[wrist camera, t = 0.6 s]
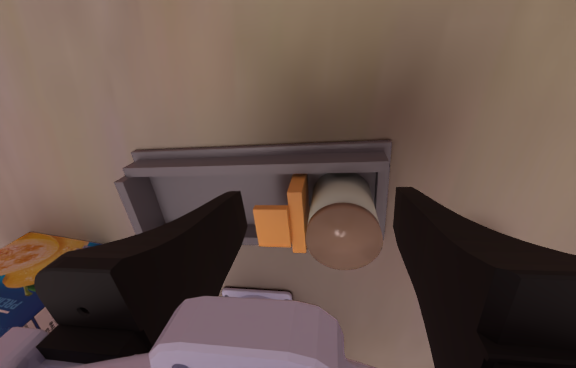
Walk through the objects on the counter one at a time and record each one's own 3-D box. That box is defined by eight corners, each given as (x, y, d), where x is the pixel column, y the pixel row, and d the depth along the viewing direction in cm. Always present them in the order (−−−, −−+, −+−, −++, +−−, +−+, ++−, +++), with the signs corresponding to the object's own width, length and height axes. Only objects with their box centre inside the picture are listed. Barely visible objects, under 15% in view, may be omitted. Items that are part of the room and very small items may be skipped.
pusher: (310, 222, 23) (305, 258, 19) (273, 222, 24) (260, 256, 20) (306, 169, 21) (300, 196, 17) (266, 170, 22) (250, 196, 18)
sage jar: (369, 220, 23) (380, 271, 17) (313, 219, 23) (307, 268, 18) (372, 168, 21) (385, 209, 15) (310, 170, 21) (303, 208, 16)
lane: (382, 236, 24) (390, 264, 21) (164, 231, 28) (142, 254, 25) (390, 140, 20) (401, 156, 17) (135, 150, 24) (104, 165, 21)
